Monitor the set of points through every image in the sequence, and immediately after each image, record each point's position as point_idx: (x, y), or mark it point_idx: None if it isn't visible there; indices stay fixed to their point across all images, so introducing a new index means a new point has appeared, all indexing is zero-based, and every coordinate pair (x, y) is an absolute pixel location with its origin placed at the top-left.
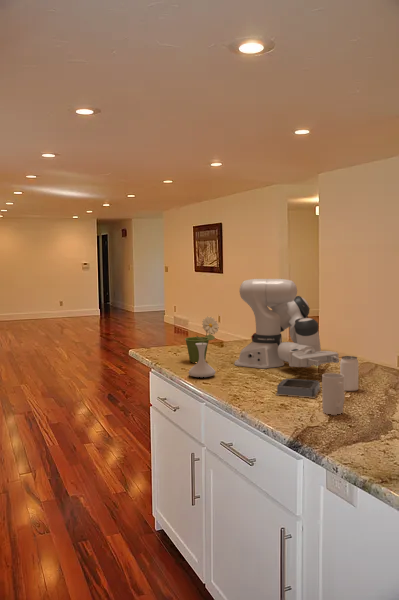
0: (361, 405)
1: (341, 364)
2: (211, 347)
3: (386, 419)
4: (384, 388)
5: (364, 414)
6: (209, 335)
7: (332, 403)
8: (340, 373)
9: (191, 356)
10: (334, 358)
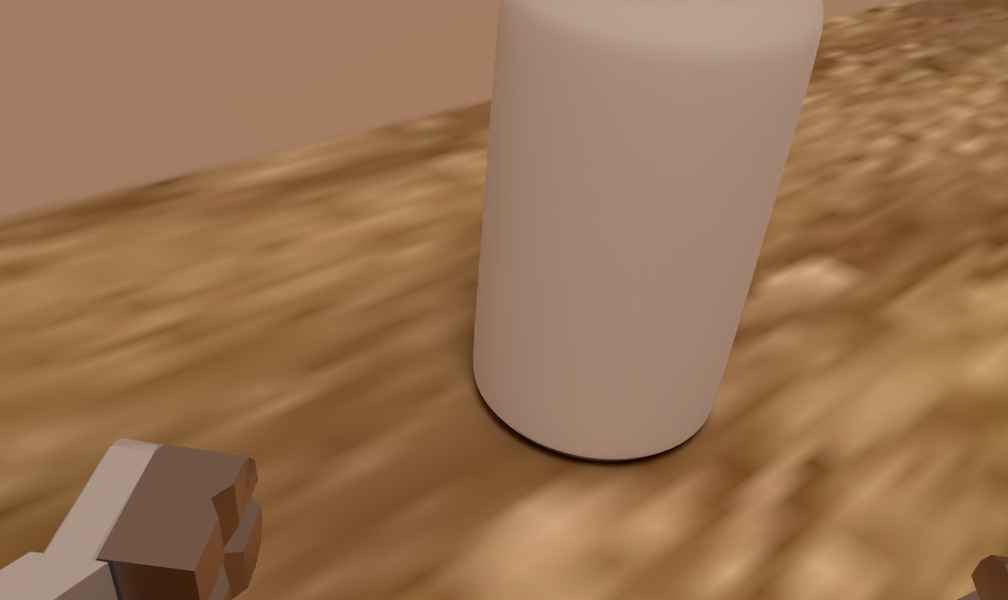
0: (874, 136)
1: (811, 66)
2: None
3: (897, 21)
4: (229, 215)
5: (974, 78)
6: None
7: None
8: (757, 238)
9: None
10: (214, 523)
